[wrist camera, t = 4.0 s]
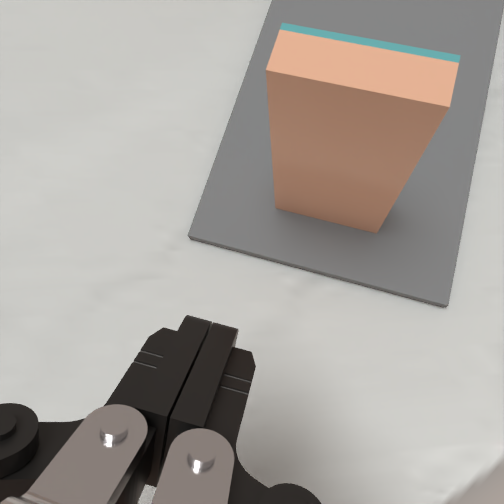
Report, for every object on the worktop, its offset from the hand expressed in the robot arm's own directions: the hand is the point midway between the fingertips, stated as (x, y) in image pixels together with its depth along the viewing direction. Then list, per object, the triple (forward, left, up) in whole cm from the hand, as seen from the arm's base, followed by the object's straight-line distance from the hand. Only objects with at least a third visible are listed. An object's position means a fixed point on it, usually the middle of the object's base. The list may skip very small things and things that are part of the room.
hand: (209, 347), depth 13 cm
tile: (+2, +10, -12) cm, 16 cm away
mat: (+2, +18, -12) cm, 22 cm away
